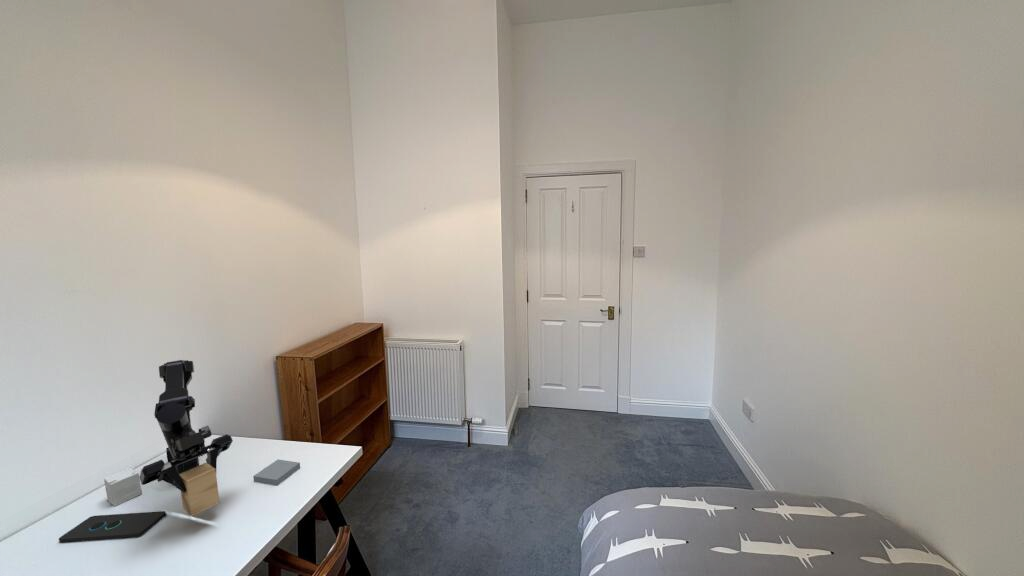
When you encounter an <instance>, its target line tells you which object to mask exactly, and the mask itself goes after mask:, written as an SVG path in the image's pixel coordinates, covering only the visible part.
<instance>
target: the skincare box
mask: <svg viewBox="0 0 1024 576" xmlns="http://www.w3.org/2000/svg"><path fill="white" fill-rule="evenodd" d="M139 476H140V473H139V472H137V471H136V470H135V469H133V467H130V468H127V469H125V470H122V471H120V472H119V471H118V472H117V473H115V474H111V475H108V476H106V477H105V478H103V483H104V486H105V492H106V499H107V501H108V502H109V503H110V504H111V505H112V506H113V507H116V506H119V505H121V504H123V503H126V502H127V501H129V500H131V499H133V498H136V497H138V496H140V495H142V494H143V493H142V486H141V481H140V477H139Z"/></svg>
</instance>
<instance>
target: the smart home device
mask: <svg viewBox="0 0 1024 576" xmlns="http://www.w3.org/2000/svg"><path fill="white" fill-rule="evenodd" d="M166 516H167V512H166V511H163V510H161V511H158V510H157V511H146V512H145V511H144V512H131V513H128V512H127V513H116V514H101V515H98V514H97V515H92V516H89V517H88V518H86V519H85V520H83V521H82V522H80V523H79V524H78V525H76V526H74V527H73V528H71V529H70V530H68V531H67V532H65V533H64V534H63V535H61V536H60V537H59V538H58V542H59V543H60V544H69V543H81V542H83V543H84V542H96V541H106V540H107V541H109V540H110V541H111V540H123V539H137V538H141V537H142V536H144V535H145V534H146V533H147V532H149V531H150V530H151V529H152V528H153V527H154V526H155V525H157V524H158V523H159V522H160V521H162V520H163V519H164V518H165V517H166Z"/></svg>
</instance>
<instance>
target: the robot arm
mask: <svg viewBox="0 0 1024 576" xmlns="http://www.w3.org/2000/svg"><path fill="white" fill-rule="evenodd" d="M193 373H195V367H194V361H193V360H188V359H187V360H185V359H183V360H182V359H178V360H171V361H167V362H165V363H163V364H162V365H159V366H158V374H159V378H160V379H163V382H164V384H165V386H164V387H165V389H164V392H162V393H161V394H159V396H158V402H157V403H155V409H154V414H153V415H154V418H155V419H156V421H157V423H158V426H159V428H160V429H161V433H162V434H163V437H164V440H165V443H166V444H167V447H166V450H165V451H166V459H167V461H166V462H165V461H164V460H163V459H159V460H158V461H155V462H152V463H149V464H146V465H144V466H143V467H142V468H141V470H140V473H139V480H140V485H142V486H144V485H147V484H150V483H152V482H154V481H157V482H161V481H163V482H166V483H168V484H170V485H172V487H175V488H176V489H178V490H179V491H180V492H181V491H182V492H183V493H185V492H186V491H187V490H186V487H185V485H184V483H183V481H182V479H181V478H180V476H179V474H180V473H183V472H185V471H187V470H190V469H192V468H194V467H197V466H199V465H200V459H199V457H203V456H204V455H206V458H205V461H206V462H205V463H208V464H209V465H211V466H212V467H213V468H215V469H216V470H217V461H218V457H219V456H220V455H221V453H223V452H224V451H227V450H228V449H230V447H231V445H232V443H233V441H234V440H233V437H232V436H231V435H230V434H223V435H221V436H219V437H217V438H214V439H212V441H211V442H210V444H208V445H205V442H206V441H205V439H207V438H209V437H212V435H213V434H212V431H211V429H210V426H209V425H205V426H202V427H200V428H198V432H196V431H195V430H194V429H193V427H192V423H191V421H192V420H191V411H193V409H194V408H195V407H196V399H195V398H194V397H193V396H192V395H189V390H188V386H189V384H190V383H191V381H192V379H193Z"/></svg>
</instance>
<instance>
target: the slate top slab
mask: <svg viewBox="0 0 1024 576" xmlns="http://www.w3.org/2000/svg"><path fill="white" fill-rule="evenodd" d="M299 469H301V462H300V461H298V462H297V461H293V460H292V461H291V460H285V459H279V458H278V459H277V460H274V461H273V462H272V463H270V464H269V465H267V466H265V468H263V469H262V470H260V471H258V472H257V473H256V474H254V475H253V482H254V483H259V484H264V485H272V486H279V485H280V484H281V483H283V482H284V481H285V480H287V479H288V478H289V477H290V476H292V475H293V474H295V473H296V472H297V471H298V470H299Z"/></svg>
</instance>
